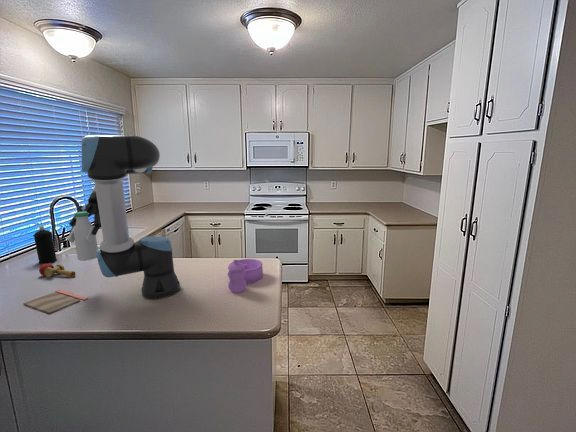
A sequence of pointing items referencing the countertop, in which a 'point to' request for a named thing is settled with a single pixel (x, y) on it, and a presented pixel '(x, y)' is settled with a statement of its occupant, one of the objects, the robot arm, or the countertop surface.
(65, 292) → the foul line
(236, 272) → the container set
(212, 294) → the countertop surface
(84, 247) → the milk bottle
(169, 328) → the countertop surface
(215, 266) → the countertop surface
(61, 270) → the kendama
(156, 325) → the countertop surface
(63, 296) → the board
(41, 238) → the aerosol can
